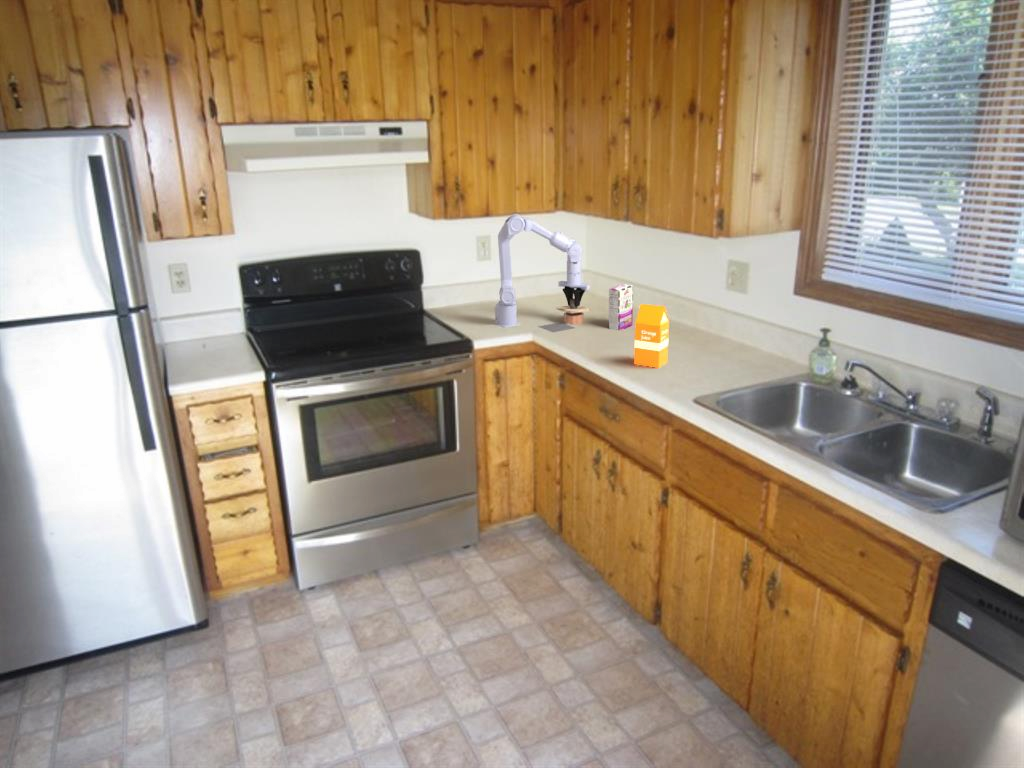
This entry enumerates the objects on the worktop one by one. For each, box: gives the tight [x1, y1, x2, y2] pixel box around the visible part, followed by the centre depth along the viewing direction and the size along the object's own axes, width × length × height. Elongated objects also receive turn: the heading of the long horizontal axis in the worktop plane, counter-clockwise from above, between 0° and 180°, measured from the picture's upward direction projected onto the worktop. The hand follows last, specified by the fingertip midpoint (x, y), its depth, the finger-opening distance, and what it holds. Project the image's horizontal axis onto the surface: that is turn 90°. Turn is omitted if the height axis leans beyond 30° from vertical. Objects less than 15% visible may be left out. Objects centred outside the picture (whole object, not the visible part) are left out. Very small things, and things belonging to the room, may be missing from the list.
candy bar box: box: [608, 283, 634, 331], centre depth 291 cm, size 11×5×16 cm, turn 143°
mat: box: [538, 322, 576, 333], centre depth 295 cm, size 11×11×1 cm
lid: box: [555, 298, 592, 314], centre depth 300 cm, size 10×10×4 cm
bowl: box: [563, 312, 585, 325], centre depth 302 cm, size 8×8×4 cm
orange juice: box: [633, 303, 670, 369], centre depth 245 cm, size 8×9×20 cm
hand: (573, 305), depth 300 cm, fingers closed on lid, 3 cm apart
